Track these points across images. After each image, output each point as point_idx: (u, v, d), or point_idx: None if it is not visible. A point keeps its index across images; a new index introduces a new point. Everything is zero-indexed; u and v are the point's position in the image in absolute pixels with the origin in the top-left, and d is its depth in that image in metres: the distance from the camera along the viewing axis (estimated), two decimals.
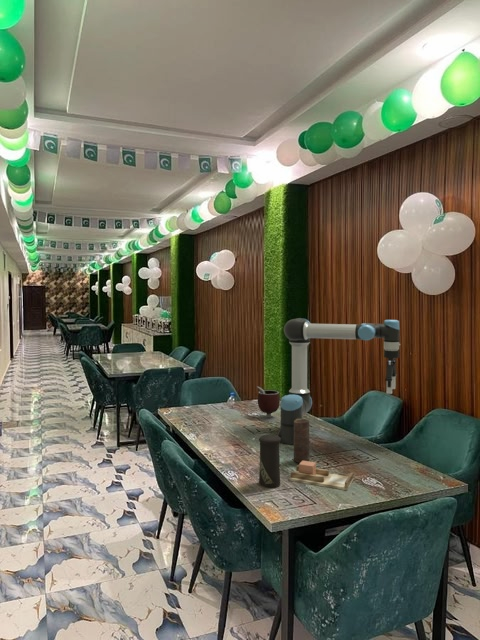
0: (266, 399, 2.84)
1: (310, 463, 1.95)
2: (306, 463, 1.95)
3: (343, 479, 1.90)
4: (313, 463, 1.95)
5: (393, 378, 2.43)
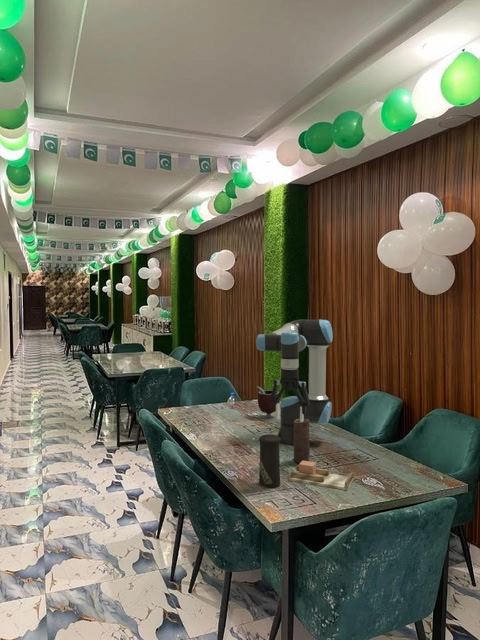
0: (266, 399, 2.84)
1: (310, 463, 1.95)
2: (306, 463, 1.95)
3: (343, 479, 1.90)
4: (313, 463, 1.95)
5: None
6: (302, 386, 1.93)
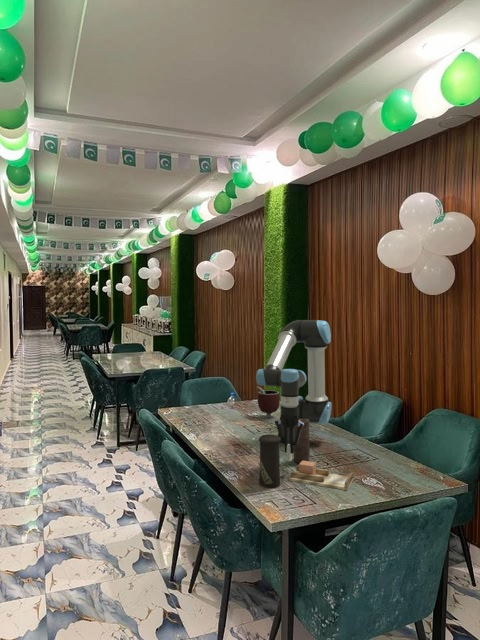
0: (266, 399, 2.84)
1: (310, 463, 1.95)
2: (306, 463, 1.95)
3: (343, 479, 1.90)
4: (313, 463, 1.95)
5: None
6: (299, 427, 1.94)
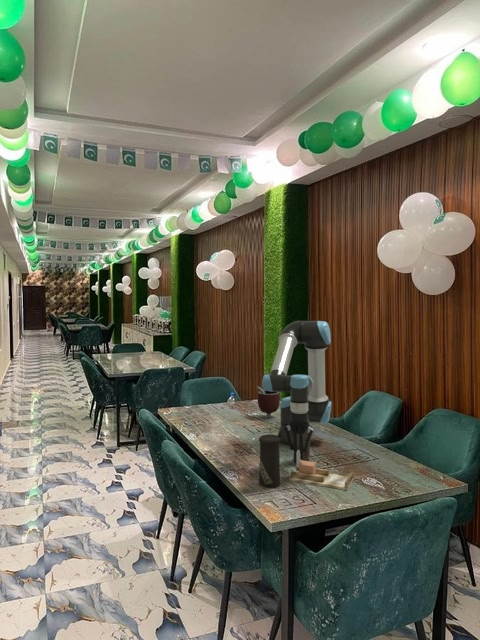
0: (266, 399, 2.84)
1: (310, 463, 1.94)
2: (306, 463, 1.95)
3: (343, 479, 1.90)
4: (313, 463, 1.94)
5: None
6: (309, 433, 1.92)
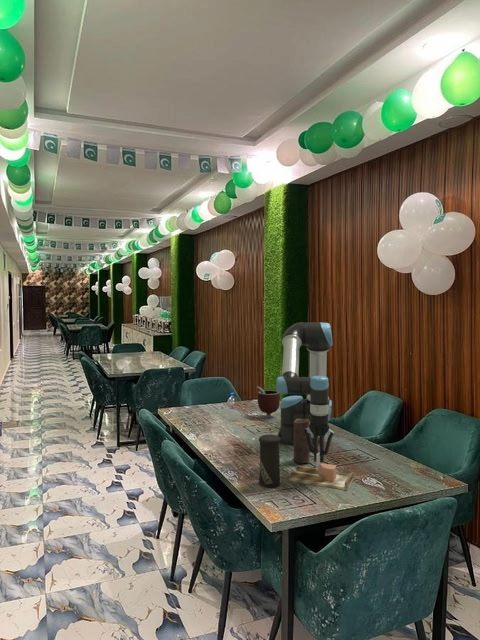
0: (266, 399, 2.84)
1: (330, 466, 1.91)
2: (326, 466, 1.91)
3: (343, 479, 1.90)
4: (333, 466, 1.91)
5: None
6: (330, 435, 1.89)
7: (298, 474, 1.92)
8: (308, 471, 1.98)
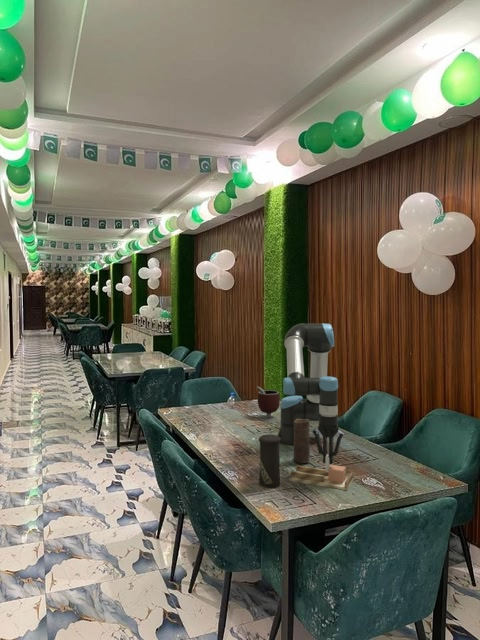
0: (266, 399, 2.84)
1: (340, 467, 1.89)
2: (335, 467, 1.90)
3: None
4: (343, 467, 1.89)
5: None
6: (339, 437, 1.87)
7: (298, 474, 1.92)
8: (308, 471, 1.98)
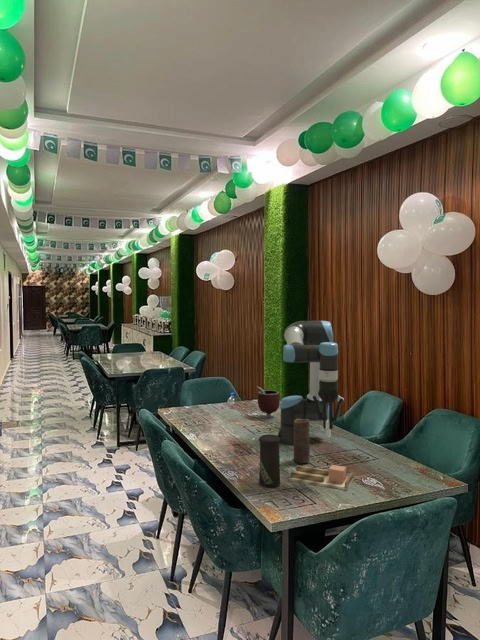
0: (266, 399, 2.84)
1: (340, 468, 1.89)
2: (336, 467, 1.90)
3: None
4: (343, 468, 1.89)
5: None
6: (339, 402, 1.87)
7: (298, 474, 1.92)
8: (308, 471, 1.98)
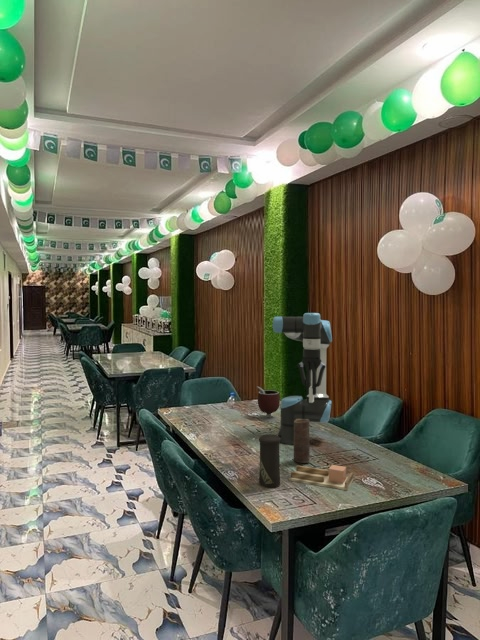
0: (266, 399, 2.84)
1: (340, 468, 1.89)
2: (336, 467, 1.90)
3: None
4: (343, 468, 1.89)
5: None
6: (322, 368, 1.98)
7: (298, 474, 1.92)
8: (308, 471, 1.98)
